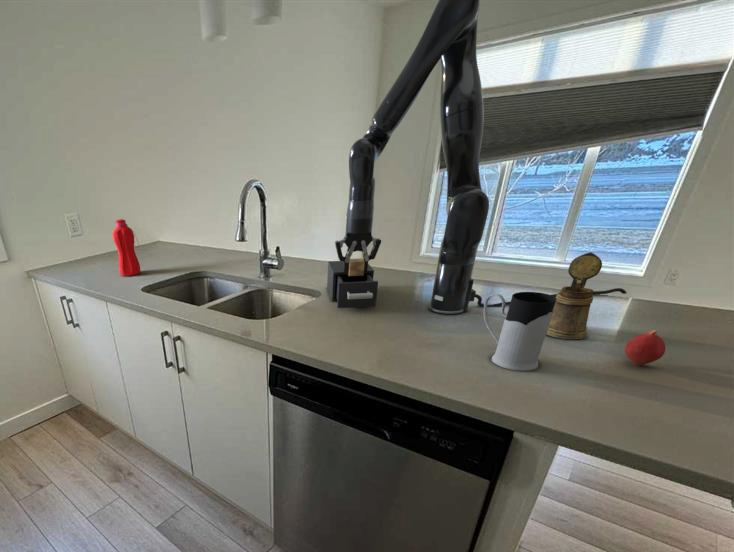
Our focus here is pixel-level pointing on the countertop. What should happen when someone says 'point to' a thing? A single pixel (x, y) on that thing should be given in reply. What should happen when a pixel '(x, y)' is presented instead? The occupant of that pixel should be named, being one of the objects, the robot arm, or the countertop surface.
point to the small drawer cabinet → (338, 269)
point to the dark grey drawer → (355, 291)
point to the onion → (645, 348)
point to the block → (356, 267)
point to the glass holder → (522, 329)
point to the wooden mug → (575, 300)
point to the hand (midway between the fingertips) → (355, 273)
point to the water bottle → (126, 249)
